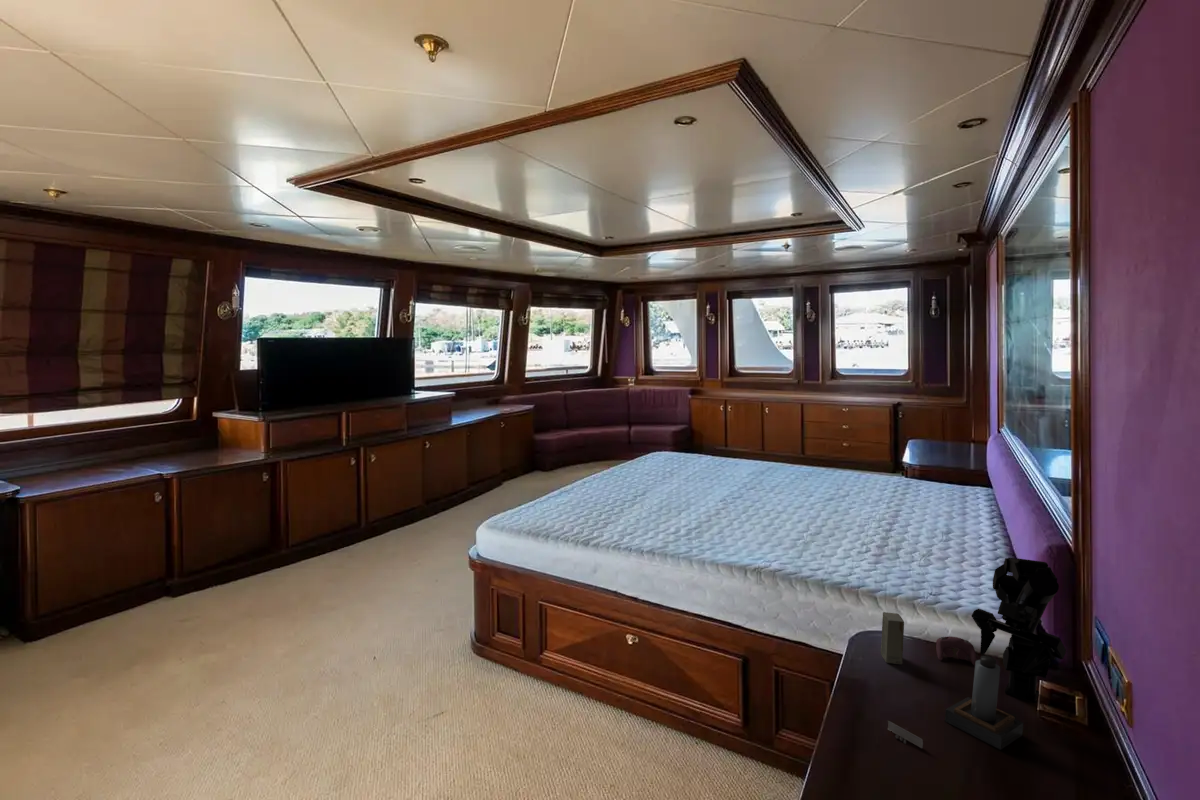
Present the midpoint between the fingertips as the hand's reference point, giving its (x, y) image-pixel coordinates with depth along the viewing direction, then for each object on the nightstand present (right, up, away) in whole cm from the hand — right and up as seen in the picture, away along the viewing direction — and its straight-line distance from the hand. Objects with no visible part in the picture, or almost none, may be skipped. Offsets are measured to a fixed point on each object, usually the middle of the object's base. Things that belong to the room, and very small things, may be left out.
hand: (1001, 662), depth 145 cm
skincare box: (-13, -11, +28) cm, 33 cm away
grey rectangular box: (-7, -14, -3) cm, 16 cm away
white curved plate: (-28, -14, -8) cm, 33 cm away
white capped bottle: (-7, -11, -3) cm, 13 cm away
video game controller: (+6, -12, +29) cm, 31 cm away
